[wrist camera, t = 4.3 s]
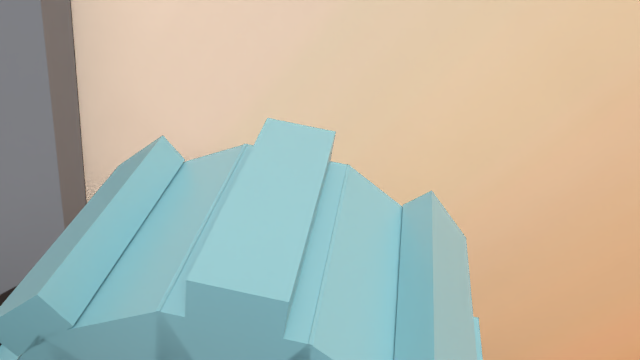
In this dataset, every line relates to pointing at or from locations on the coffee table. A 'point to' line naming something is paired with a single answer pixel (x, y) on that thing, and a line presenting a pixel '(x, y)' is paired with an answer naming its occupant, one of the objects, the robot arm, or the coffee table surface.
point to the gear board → (37, 133)
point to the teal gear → (247, 264)
